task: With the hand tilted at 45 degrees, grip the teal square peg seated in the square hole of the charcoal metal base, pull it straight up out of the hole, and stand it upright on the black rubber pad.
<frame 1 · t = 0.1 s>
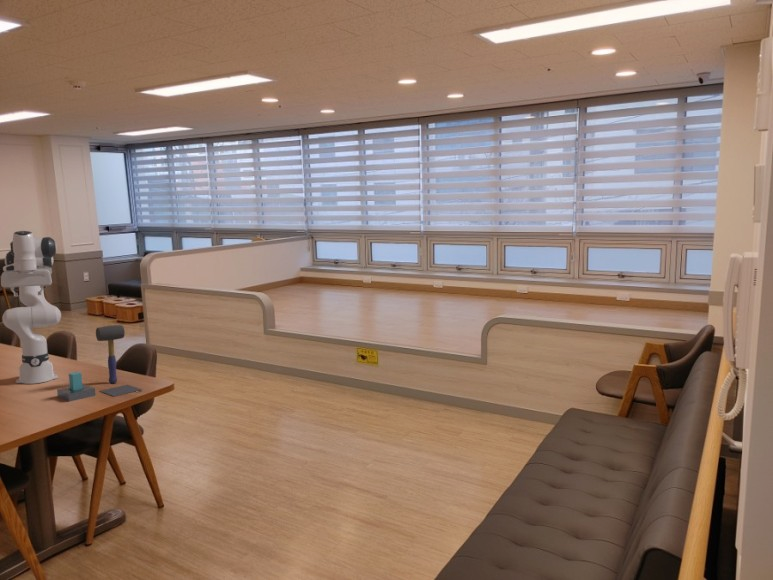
hand: (28, 295, 268), 48 cm above the table, tool pointing down, fingers open, 8 cm apart
peg: (76, 396, 271), resting on socket base
socket base: (76, 397, 272), on the table
pad: (121, 391, 280), on the table
rubber mallet: (113, 383, 295), on the table
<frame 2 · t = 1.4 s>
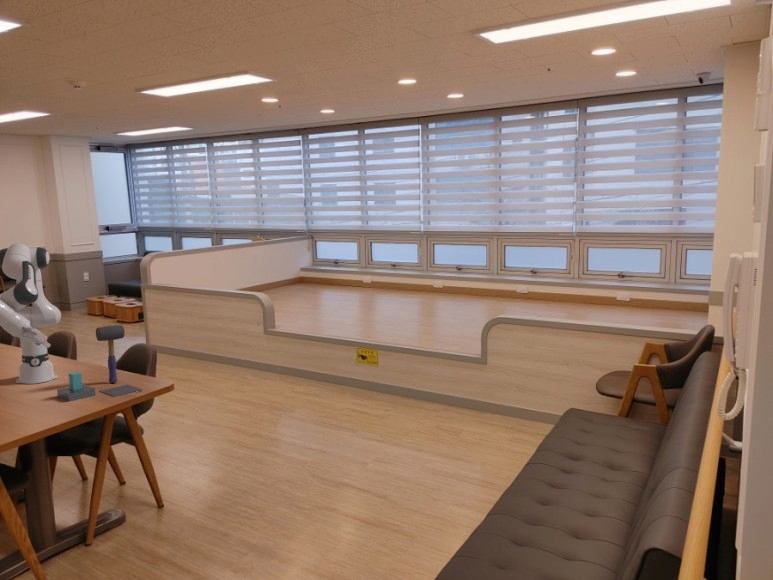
hand: (44, 345, 259), 27 cm above the table, tool tilted 45°, fingers open, 8 cm apart
nothing on the table moved.
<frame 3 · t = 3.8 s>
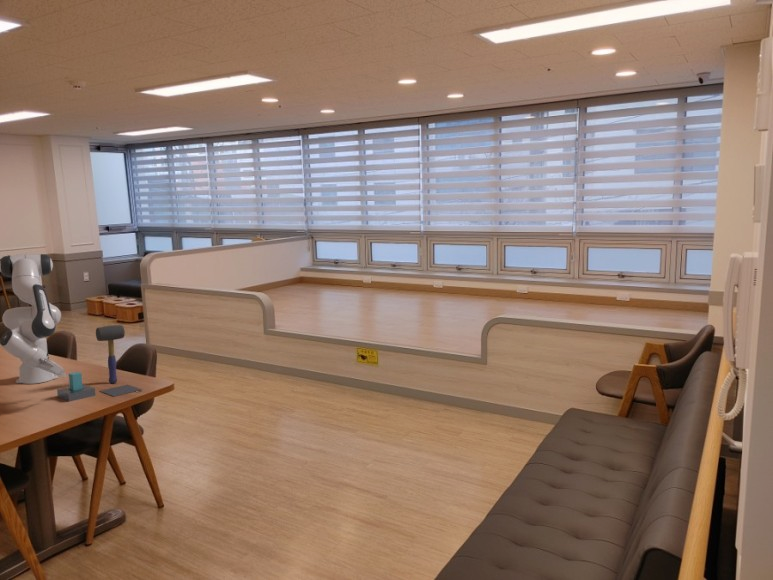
hand: (60, 374, 265), 12 cm above the table, tool tilted 45°, fingers open, 8 cm apart
nothing on the table moved.
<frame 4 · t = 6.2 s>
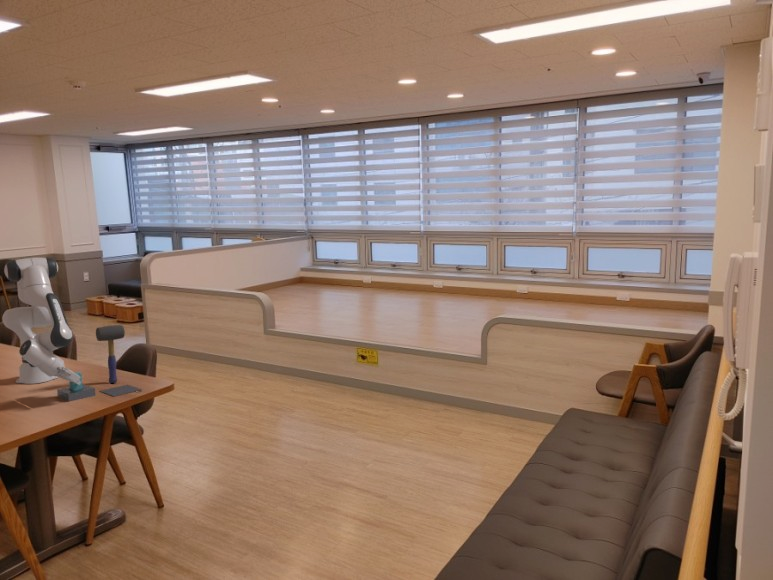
hand: (77, 382, 271), 7 cm above the table, tool tilted 45°, fingers closed on peg, 4 cm apart
peg: (76, 396, 271), resting on socket base, touching gripper
everything else where it was.
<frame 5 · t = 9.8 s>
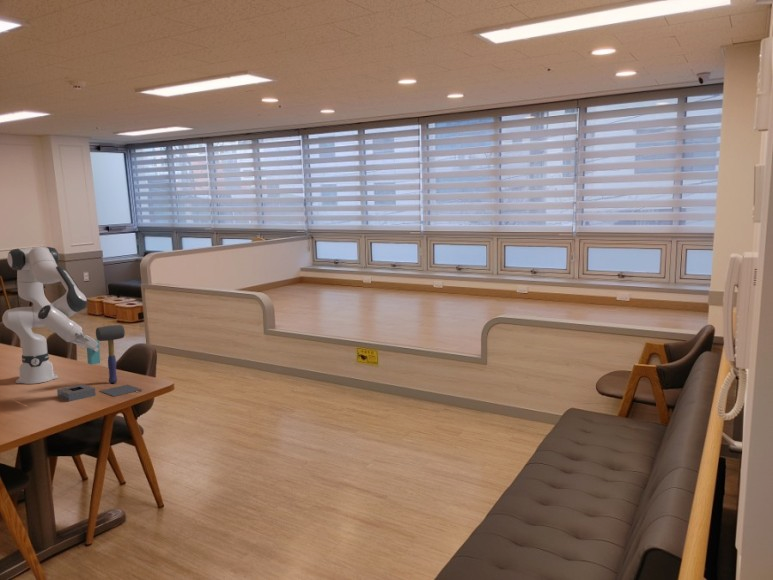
hand: (94, 349, 273), 22 cm above the table, tool tilted 45°, fingers closed on peg, 4 cm apart
peg: (94, 363, 273), point 16 cm above the table, touching gripper
everything else where it was.
when the fingers open (9 cm above the table, at t = 13.7 s): peg drops 1 cm, resting on pad.
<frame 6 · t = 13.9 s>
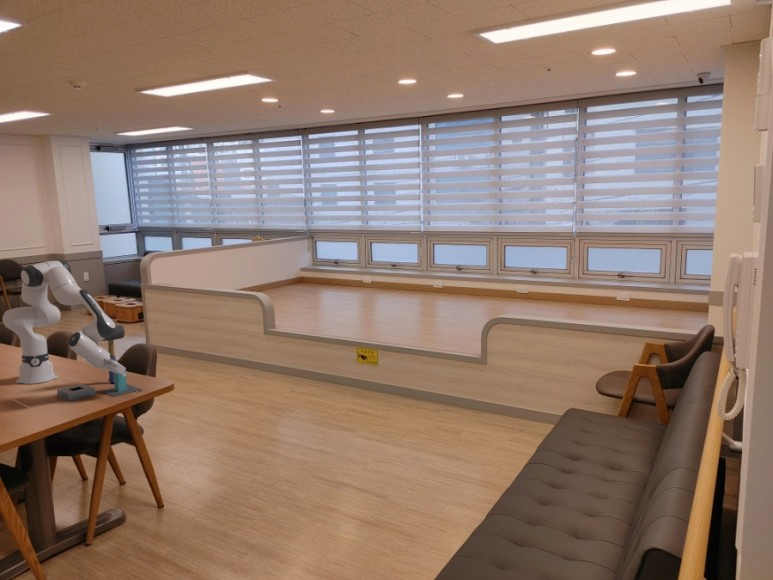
hand: (121, 374, 280), 9 cm above the table, tool tilted 45°, fingers open, 6 cm apart
peg: (120, 390, 280), point 1 cm above the table, touching pad
everything else where it was.
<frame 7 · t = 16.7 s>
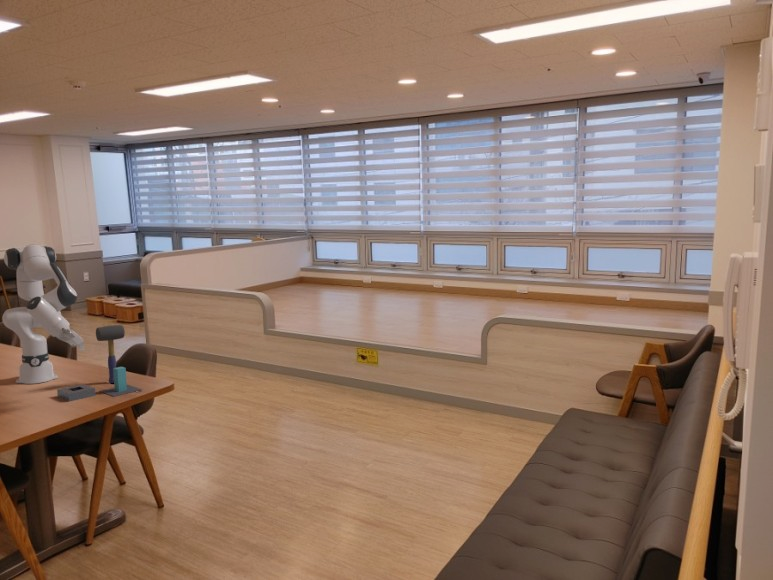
hand: (79, 347, 267), 24 cm above the table, tool tilted 40°, fingers open, 8 cm apart
nothing on the table moved.
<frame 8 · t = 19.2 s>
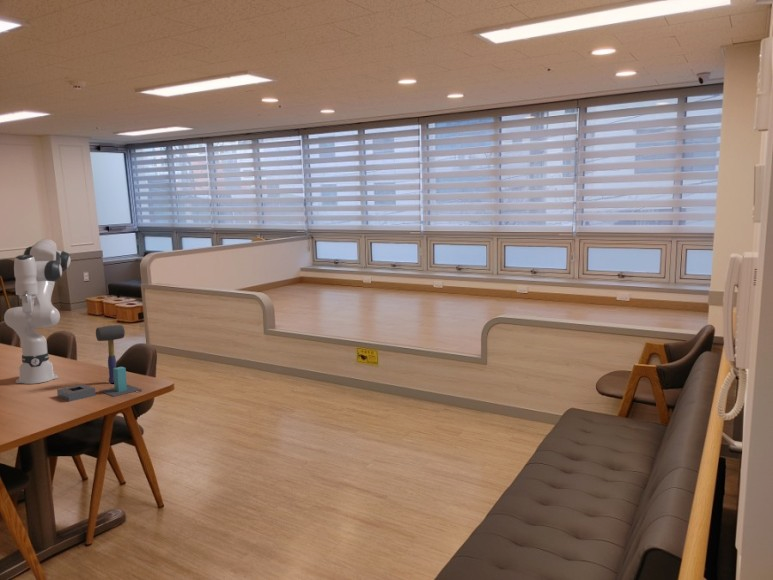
hand: (29, 320, 266), 37 cm above the table, tool pointing down, fingers open, 8 cm apart
nothing on the table moved.
at the end: peg inside the target area on the pad (0.1 cm from its centre), point 0.8 cm above the pad's base; peg tilted 0°; peg touching pad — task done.
